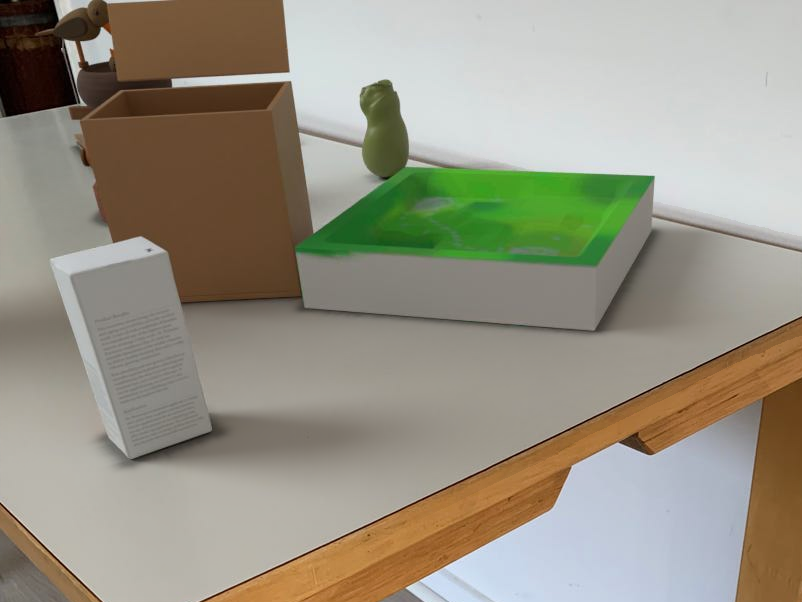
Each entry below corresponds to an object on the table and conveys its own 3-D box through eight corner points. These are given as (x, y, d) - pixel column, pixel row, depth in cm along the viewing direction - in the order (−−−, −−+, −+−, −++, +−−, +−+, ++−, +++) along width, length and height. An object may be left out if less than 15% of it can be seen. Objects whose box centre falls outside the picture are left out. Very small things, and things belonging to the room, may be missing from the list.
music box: (76, 232, 102) (14, 5, 91) (96, 211, 111) (41, 2, 100) (223, 218, 104) (179, -7, 92) (231, 199, 113) (192, -9, 101)
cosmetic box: (189, 411, 68) (144, 234, 61) (214, 433, 66) (170, 250, 58) (104, 438, 66) (46, 256, 58) (127, 462, 63) (69, 274, 55)
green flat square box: (651, 231, 94) (654, 175, 91) (594, 330, 76) (596, 265, 73) (409, 219, 101) (405, 166, 98) (304, 307, 83) (294, 247, 80)
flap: (106, 3, 83) (108, 4, 83) (117, 80, 85) (119, 81, 85) (281, -7, 83) (282, -5, 83) (289, 71, 84) (289, 72, 85)
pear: (395, 184, 111) (386, 85, 105) (355, 181, 113) (344, 83, 107) (419, 172, 115) (411, 75, 109) (380, 168, 117) (370, 73, 111)
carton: (129, 305, 85) (79, 120, 76) (161, 259, 94) (120, 90, 85) (301, 296, 85) (271, 110, 76) (316, 251, 94) (291, 80, 85)
